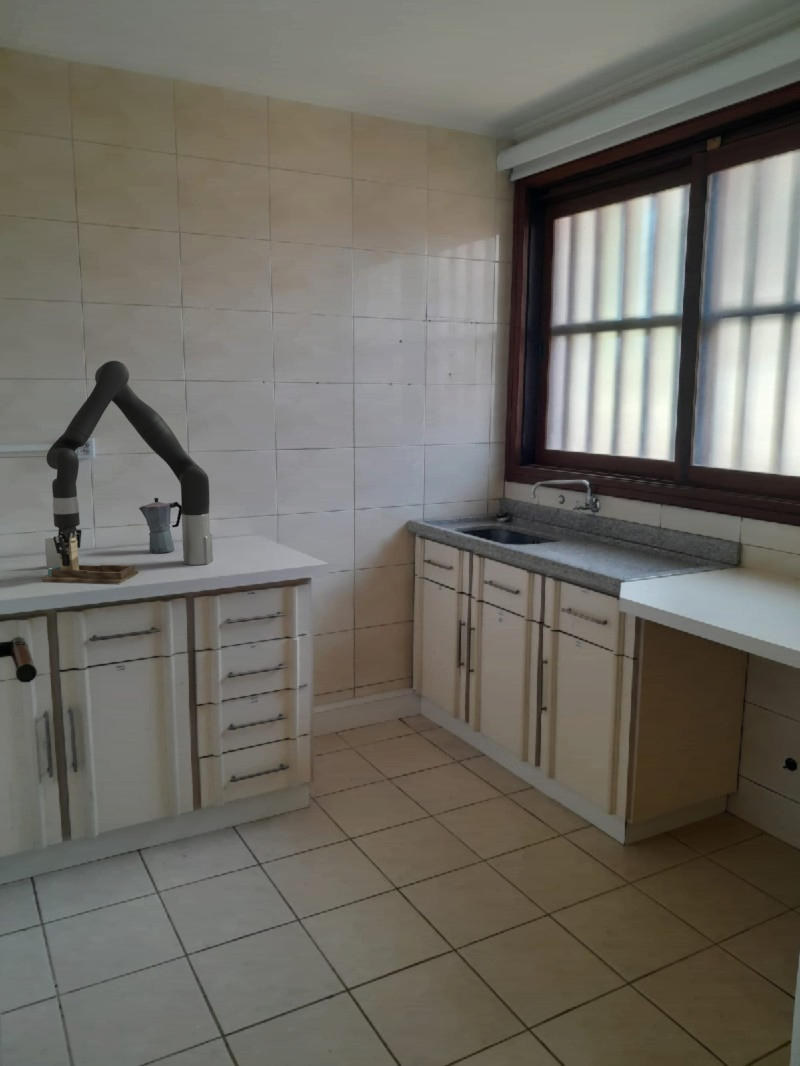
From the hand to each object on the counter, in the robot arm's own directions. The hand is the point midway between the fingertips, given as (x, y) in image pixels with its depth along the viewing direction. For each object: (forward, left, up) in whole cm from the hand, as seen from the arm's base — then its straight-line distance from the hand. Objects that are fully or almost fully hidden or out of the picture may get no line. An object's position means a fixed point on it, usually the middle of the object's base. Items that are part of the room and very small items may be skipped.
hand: (69, 564), depth 255 cm
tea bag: (+11, -13, -4) cm, 18 cm away
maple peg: (0, 0, -3) cm, 3 cm away
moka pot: (-14, -42, -4) cm, 44 cm away
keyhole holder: (-7, 0, -4) cm, 8 cm away
